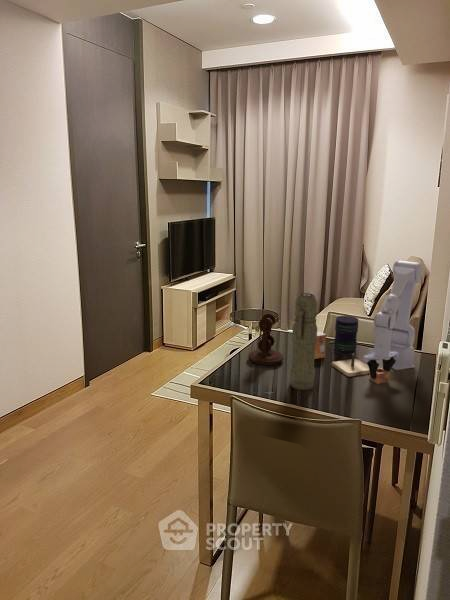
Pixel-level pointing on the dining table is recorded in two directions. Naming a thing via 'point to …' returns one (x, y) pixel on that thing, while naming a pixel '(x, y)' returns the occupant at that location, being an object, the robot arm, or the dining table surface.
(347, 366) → the lacing board
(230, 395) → the dining table surface
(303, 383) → the grey-green tall column
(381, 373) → the bead
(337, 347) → the storage jar
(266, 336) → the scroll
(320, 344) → the small box
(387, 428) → the dining table surface
